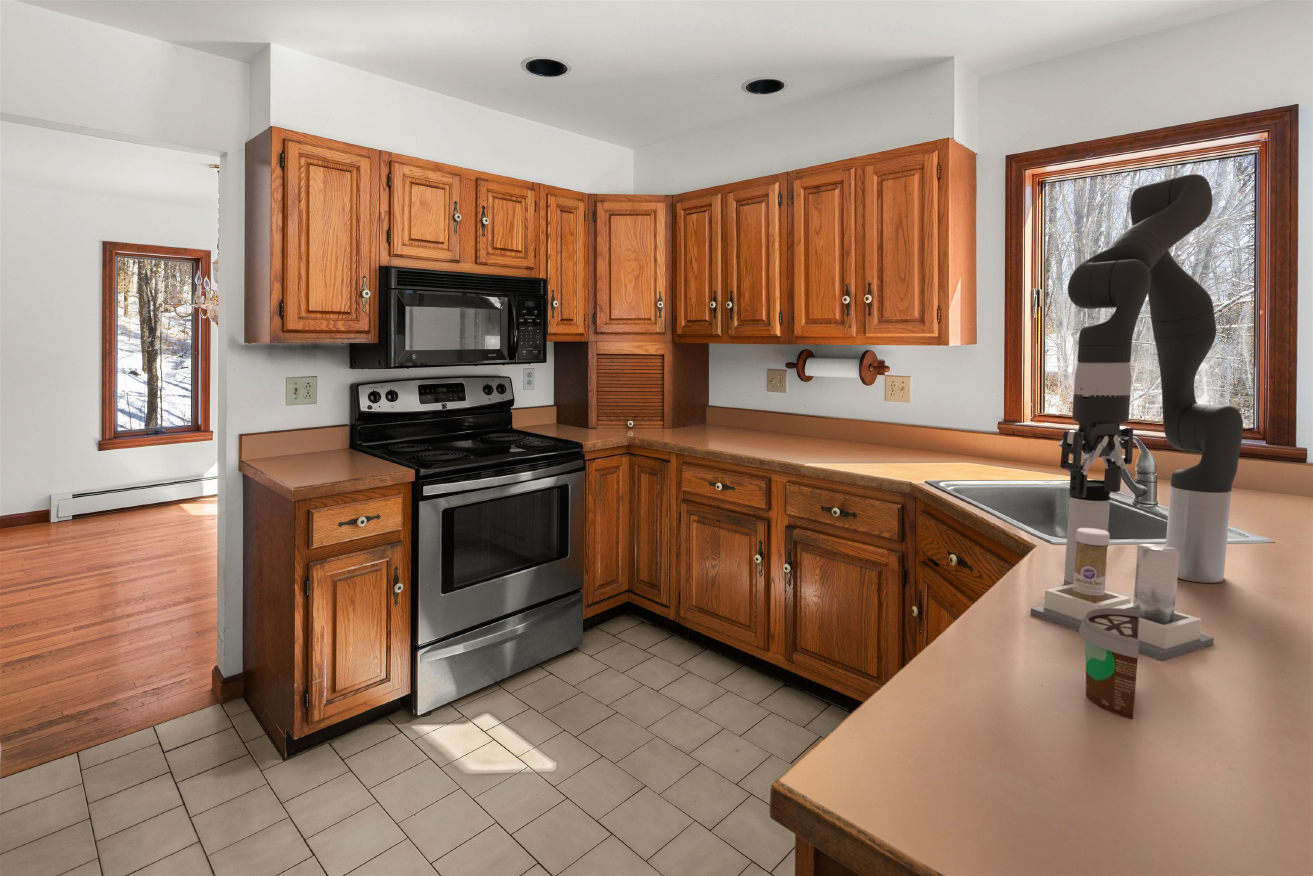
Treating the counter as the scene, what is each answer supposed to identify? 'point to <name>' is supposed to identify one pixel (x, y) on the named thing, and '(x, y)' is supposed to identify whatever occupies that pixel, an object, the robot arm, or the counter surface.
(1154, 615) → the cylinder
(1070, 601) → the grey and white holder
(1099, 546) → the sprinkles bottle
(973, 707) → the counter surface
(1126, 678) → the food container
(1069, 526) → the travel mug
